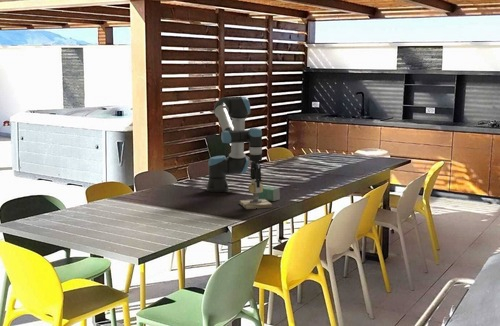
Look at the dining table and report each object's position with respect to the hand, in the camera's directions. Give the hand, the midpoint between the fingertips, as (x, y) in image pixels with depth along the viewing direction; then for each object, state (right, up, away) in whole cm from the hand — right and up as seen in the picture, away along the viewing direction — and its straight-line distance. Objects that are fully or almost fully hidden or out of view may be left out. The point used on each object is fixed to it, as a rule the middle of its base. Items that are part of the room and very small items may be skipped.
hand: (255, 191), depth 361 cm
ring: (0, 0, 0) cm, 0 cm away
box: (+8, -6, +20) cm, 23 cm away
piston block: (0, -9, +1) cm, 9 cm away
